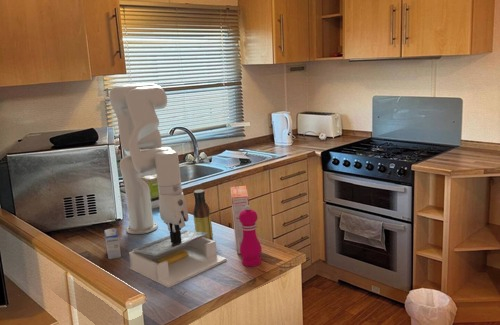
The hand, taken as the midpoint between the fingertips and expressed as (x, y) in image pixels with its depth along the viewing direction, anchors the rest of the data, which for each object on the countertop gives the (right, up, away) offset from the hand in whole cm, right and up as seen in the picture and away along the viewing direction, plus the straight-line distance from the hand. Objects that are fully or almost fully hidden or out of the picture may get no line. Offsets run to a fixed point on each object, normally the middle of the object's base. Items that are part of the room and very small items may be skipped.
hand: (176, 241), depth 158 cm
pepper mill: (+25, -7, 0) cm, 26 cm away
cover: (-2, -1, +2) cm, 3 cm away
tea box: (-23, +6, +74) cm, 77 cm away
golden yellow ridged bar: (-2, -7, +4) cm, 8 cm away
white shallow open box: (0, -8, +3) cm, 8 cm away
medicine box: (-25, -7, +15) cm, 30 cm away
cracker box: (+22, -4, +13) cm, 26 cm away
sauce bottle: (+7, -3, +21) cm, 23 cm away
